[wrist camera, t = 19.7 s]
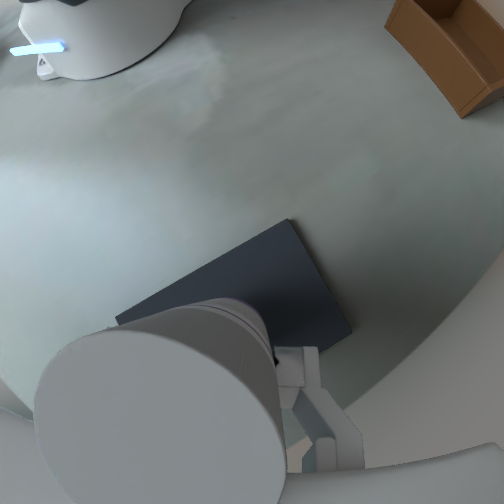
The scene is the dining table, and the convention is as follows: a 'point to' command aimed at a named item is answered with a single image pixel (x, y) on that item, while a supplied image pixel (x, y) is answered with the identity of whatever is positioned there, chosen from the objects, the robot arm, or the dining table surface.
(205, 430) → the container
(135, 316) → the pad
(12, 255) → the dining table surface
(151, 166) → the dining table surface
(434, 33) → the wooden tray
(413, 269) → the dining table surface
